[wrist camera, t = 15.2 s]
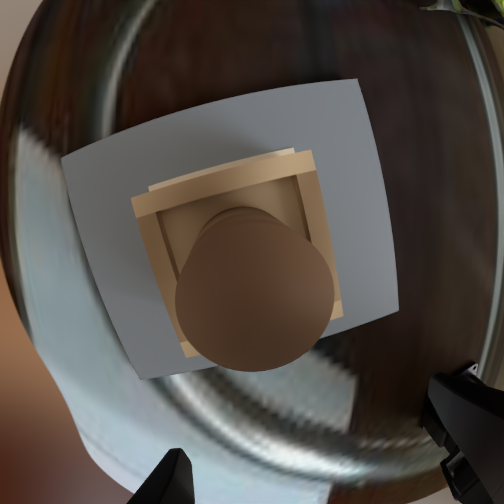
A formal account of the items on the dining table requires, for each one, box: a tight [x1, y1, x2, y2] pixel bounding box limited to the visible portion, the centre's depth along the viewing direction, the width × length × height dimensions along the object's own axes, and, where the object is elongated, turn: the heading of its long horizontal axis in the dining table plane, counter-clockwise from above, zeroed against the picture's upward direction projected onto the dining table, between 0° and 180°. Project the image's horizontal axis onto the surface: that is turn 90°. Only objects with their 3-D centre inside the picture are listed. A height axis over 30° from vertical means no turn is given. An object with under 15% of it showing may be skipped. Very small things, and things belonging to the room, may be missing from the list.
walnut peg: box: [175, 206, 335, 372], centre depth 10 cm, size 4×4×5 cm
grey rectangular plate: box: [61, 79, 399, 380], centre depth 16 cm, size 18×15×1 cm
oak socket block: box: [131, 150, 343, 358], centre depth 14 cm, size 7×7×5 cm
